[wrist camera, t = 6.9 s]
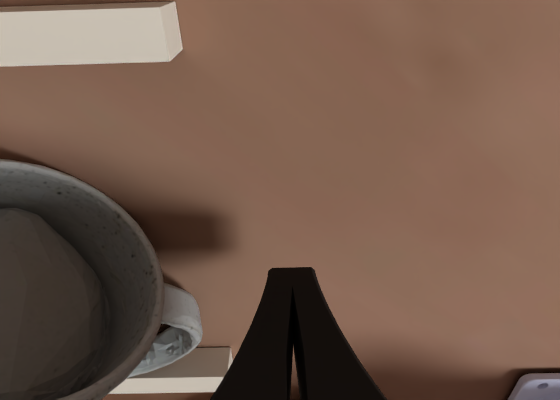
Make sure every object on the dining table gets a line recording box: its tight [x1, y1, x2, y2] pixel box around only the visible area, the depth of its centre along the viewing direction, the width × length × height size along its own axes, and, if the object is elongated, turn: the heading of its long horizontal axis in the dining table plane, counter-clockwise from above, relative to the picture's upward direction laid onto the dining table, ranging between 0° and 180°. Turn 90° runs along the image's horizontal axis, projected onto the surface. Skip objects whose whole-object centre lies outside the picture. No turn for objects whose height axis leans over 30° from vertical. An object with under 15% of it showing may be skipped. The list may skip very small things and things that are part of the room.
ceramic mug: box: [0, 159, 203, 400], centre depth 12 cm, size 11×8×8 cm
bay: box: [0, 1, 233, 394], centre depth 14 cm, size 12×16×2 cm
